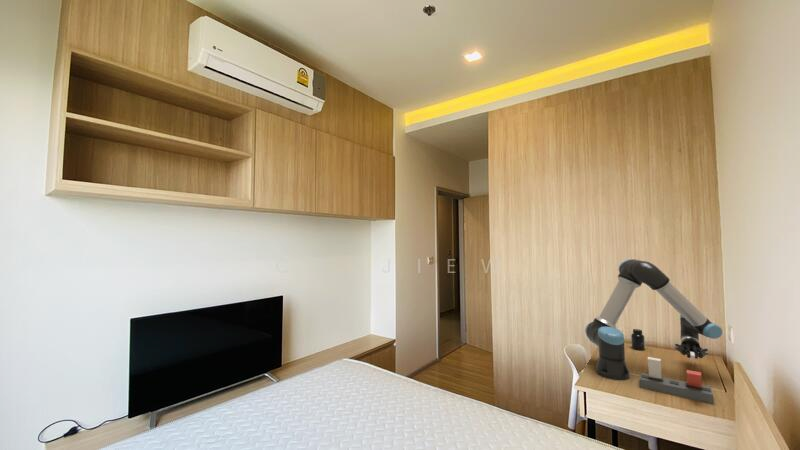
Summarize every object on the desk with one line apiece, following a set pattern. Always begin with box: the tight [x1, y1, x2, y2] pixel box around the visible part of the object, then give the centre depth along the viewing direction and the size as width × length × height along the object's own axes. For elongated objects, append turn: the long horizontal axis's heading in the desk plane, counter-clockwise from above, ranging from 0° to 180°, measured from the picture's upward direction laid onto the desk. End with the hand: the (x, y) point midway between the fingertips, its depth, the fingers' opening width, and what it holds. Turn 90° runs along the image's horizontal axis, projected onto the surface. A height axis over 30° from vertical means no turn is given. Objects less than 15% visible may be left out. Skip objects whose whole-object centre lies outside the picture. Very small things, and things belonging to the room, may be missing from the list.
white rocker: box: [647, 356, 663, 379], centre depth 157 cm, size 5×2×10 cm, turn 50°
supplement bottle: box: [630, 328, 646, 351], centre depth 208 cm, size 7×7×12 cm
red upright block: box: [686, 369, 702, 388], centre depth 147 cm, size 5×2×10 cm
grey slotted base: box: [639, 372, 715, 405], centre depth 154 cm, size 26×9×4 cm, turn 50°
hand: (692, 358), depth 155 cm, fingers closed
